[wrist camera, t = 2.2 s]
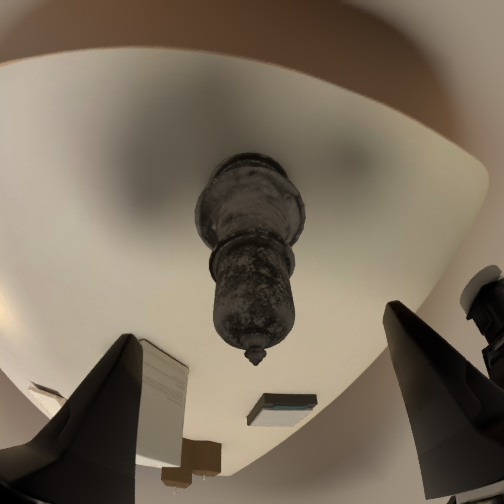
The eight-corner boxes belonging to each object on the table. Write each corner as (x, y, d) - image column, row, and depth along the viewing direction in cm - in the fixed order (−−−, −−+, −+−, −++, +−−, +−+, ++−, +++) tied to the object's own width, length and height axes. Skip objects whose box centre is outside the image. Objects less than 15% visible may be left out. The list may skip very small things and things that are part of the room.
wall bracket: (41, 365, 45) (84, 422, 58) (24, 385, 38) (73, 439, 52) (68, 383, 43) (110, 436, 57) (51, 406, 37) (99, 455, 50)
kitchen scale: (263, 393, 35) (264, 406, 33) (316, 394, 36) (318, 406, 34) (246, 417, 41) (247, 428, 39) (291, 418, 42) (292, 428, 41)
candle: (152, 438, 54) (146, 489, 42) (180, 433, 49) (175, 493, 37) (195, 450, 60) (193, 497, 48) (227, 445, 55) (227, 498, 43)
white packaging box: (109, 353, 29) (84, 446, 19) (144, 337, 27) (120, 450, 16) (152, 380, 33) (139, 466, 22) (191, 368, 30) (182, 469, 20)
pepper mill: (312, 174, 17) (391, 331, 7) (266, 243, 20) (284, 408, 10) (227, 131, 15) (195, 262, 5) (189, 210, 18) (142, 377, 8)
